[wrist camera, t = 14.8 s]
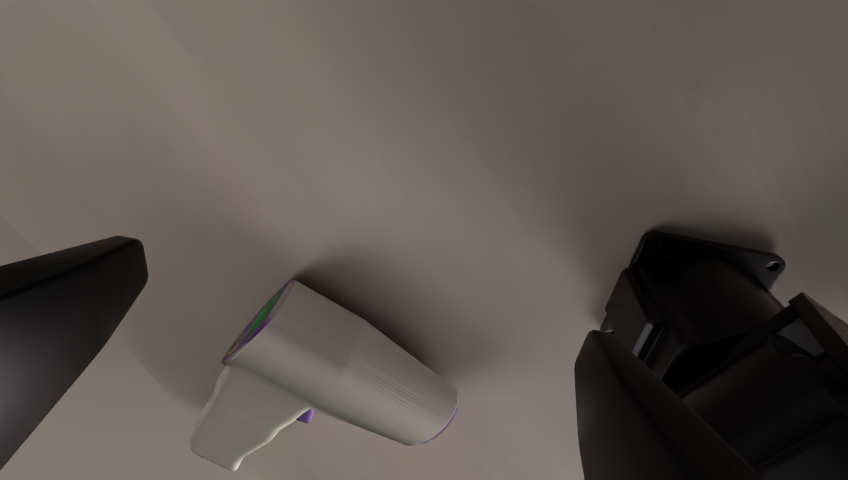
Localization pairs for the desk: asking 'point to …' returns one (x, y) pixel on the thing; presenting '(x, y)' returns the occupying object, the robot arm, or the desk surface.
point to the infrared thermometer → (317, 380)
